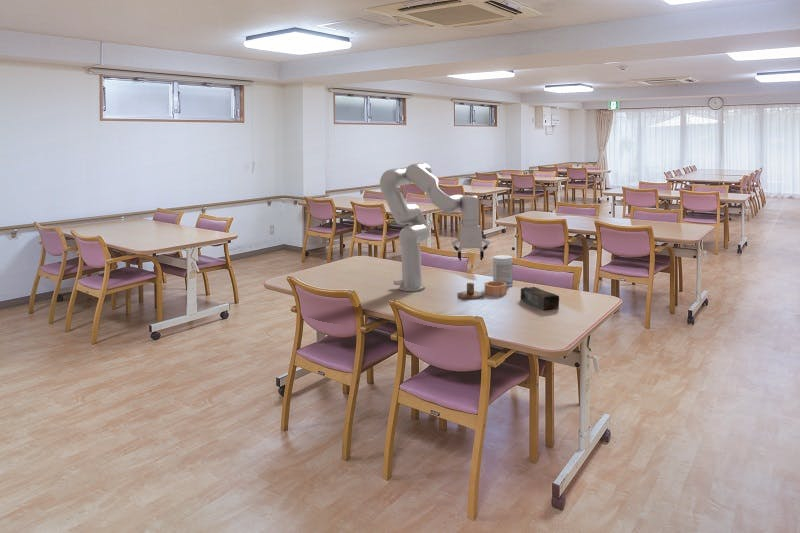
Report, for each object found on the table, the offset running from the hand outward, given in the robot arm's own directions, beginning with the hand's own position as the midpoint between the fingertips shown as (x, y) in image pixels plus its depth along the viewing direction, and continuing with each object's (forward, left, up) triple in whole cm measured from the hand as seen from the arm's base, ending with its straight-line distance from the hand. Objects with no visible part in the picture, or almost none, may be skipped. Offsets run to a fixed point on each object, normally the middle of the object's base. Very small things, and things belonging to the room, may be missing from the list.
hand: (470, 259), depth 278 cm
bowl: (+12, +5, -18) cm, 22 cm away
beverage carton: (+29, -13, -18) cm, 37 cm away
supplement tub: (+17, +21, -18) cm, 32 cm away
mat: (0, 0, -18) cm, 18 cm away
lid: (0, 0, -17) cm, 17 cm away
